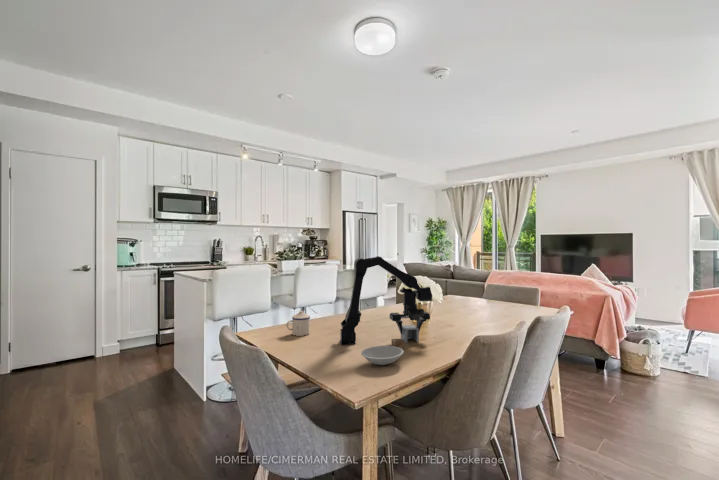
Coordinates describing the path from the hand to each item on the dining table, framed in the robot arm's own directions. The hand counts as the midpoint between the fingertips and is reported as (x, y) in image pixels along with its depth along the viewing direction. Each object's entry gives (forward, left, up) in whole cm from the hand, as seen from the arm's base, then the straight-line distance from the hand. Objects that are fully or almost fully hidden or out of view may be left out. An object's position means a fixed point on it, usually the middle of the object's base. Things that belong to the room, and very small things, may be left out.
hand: (409, 334), depth 166 cm
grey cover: (0, 0, -3) cm, 3 cm away
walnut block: (-10, -11, -3) cm, 15 cm away
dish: (-21, -28, -3) cm, 35 cm away
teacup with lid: (-52, +21, -3) cm, 56 cm away
